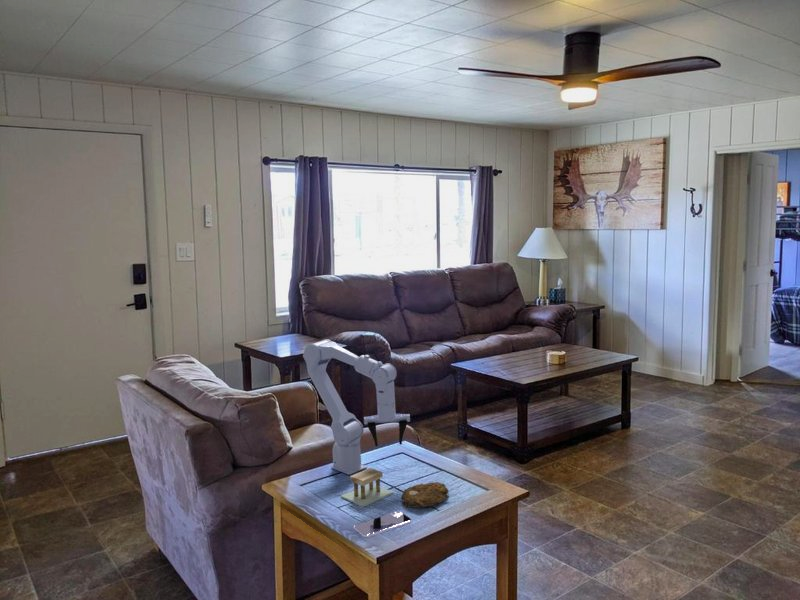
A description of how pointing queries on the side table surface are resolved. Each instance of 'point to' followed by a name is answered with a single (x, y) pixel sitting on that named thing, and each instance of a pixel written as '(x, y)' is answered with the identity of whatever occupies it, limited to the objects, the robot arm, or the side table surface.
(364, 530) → the mobile phone
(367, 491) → the mat
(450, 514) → the side table surface
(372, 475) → the tan block with pegs
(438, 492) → the decorative rock
